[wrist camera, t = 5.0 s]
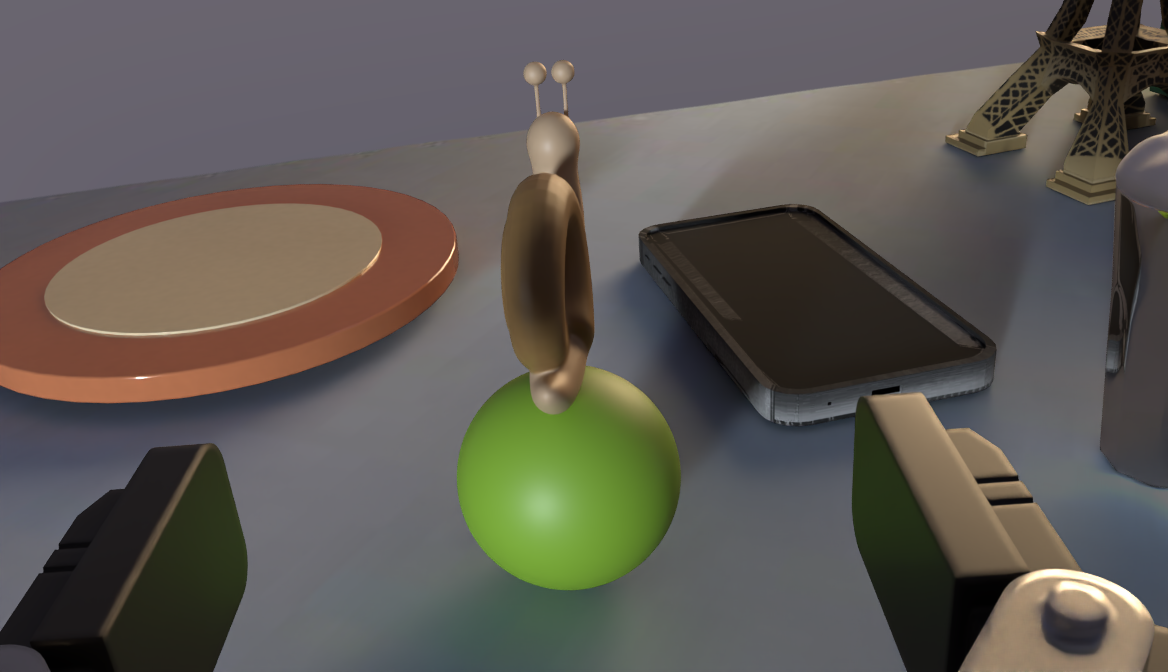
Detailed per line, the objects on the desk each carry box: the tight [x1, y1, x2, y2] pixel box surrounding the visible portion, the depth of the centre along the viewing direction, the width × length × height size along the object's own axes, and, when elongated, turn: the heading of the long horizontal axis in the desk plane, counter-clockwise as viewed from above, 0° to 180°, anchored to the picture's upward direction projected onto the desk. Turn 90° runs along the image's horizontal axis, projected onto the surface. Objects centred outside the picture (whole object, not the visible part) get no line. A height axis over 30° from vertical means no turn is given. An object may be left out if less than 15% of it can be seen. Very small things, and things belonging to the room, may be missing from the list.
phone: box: [639, 204, 997, 426], centre depth 40 cm, size 8×1×15 cm
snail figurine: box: [457, 60, 681, 590], centre depth 26 cm, size 5×6×12 cm
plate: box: [0, 184, 459, 403], centre depth 44 cm, size 19×19×2 cm
